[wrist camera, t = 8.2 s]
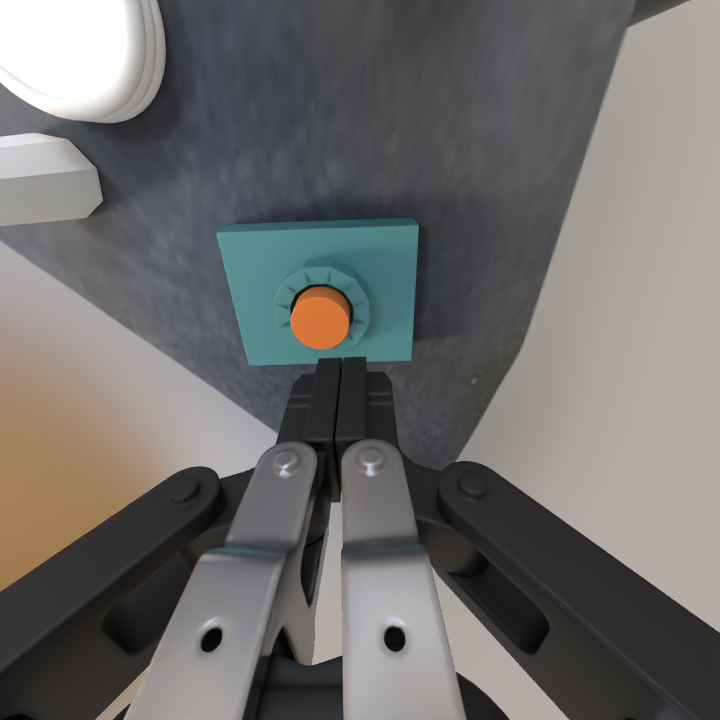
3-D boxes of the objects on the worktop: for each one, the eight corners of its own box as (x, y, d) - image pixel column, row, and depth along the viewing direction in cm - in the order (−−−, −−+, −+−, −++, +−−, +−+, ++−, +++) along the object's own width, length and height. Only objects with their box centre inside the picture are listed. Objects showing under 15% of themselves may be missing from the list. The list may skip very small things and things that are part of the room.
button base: (413, 217, 26) (423, 231, 22) (407, 343, 32) (414, 373, 27) (229, 224, 26) (204, 239, 22) (257, 348, 32) (242, 379, 28)
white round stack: (181, 134, 23) (154, 132, 20) (23, 110, 22) (-29, 104, 19) (153, -95, 18) (111, -144, 15) (-57, -138, 17) (-145, -198, 14)
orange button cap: (348, 284, 24) (347, 295, 22) (351, 335, 26) (350, 348, 24) (291, 286, 24) (286, 297, 22) (298, 337, 26) (294, 350, 24)
